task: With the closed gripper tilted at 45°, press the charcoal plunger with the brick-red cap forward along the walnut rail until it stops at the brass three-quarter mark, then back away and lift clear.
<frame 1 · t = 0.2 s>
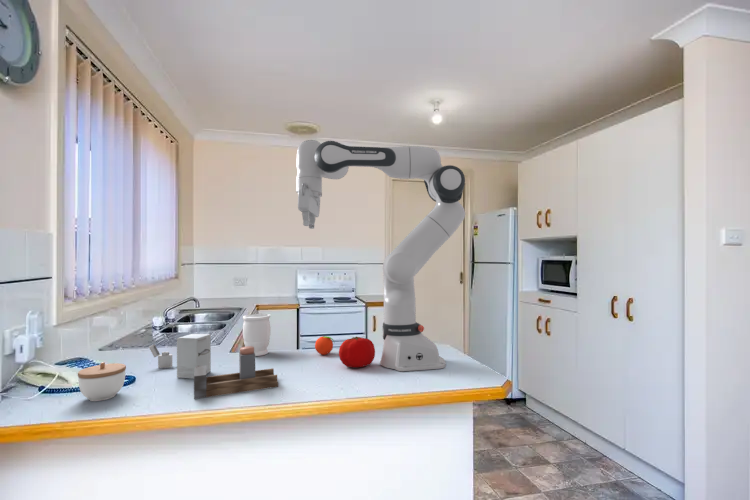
hand: (309, 227, 133), 48 cm above the table, tool pointing down, fingers open, 8 cm apart
clementine: (325, 355, 148), on the table
tomato: (356, 366, 131), on the table
jar: (257, 354, 150), on the table
lidded jar: (102, 397, 105), on the table
lighter: (160, 368, 133), on the table
plunger: (247, 363, 113), point 6 cm above the table, slide at 0.0 cm
supplement box: (194, 375, 124), on the table
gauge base: (247, 385, 113), on the table
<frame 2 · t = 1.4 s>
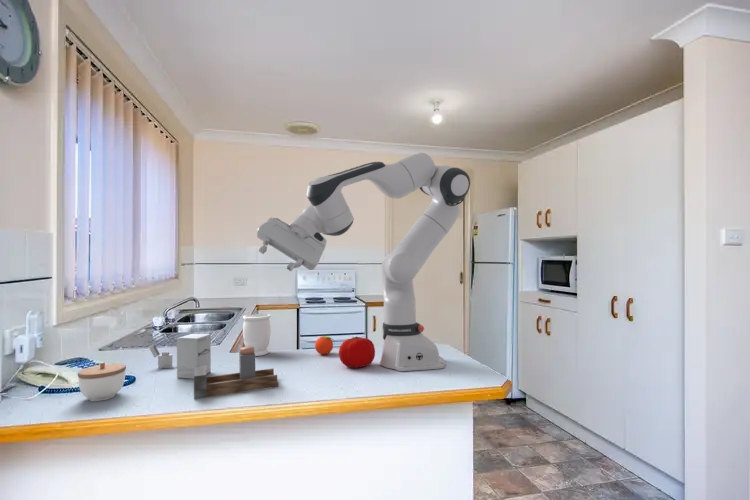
hand: (274, 260, 109), 37 cm above the table, tool tilted 55°, fingers open, 8 cm apart
nothing on the table moved.
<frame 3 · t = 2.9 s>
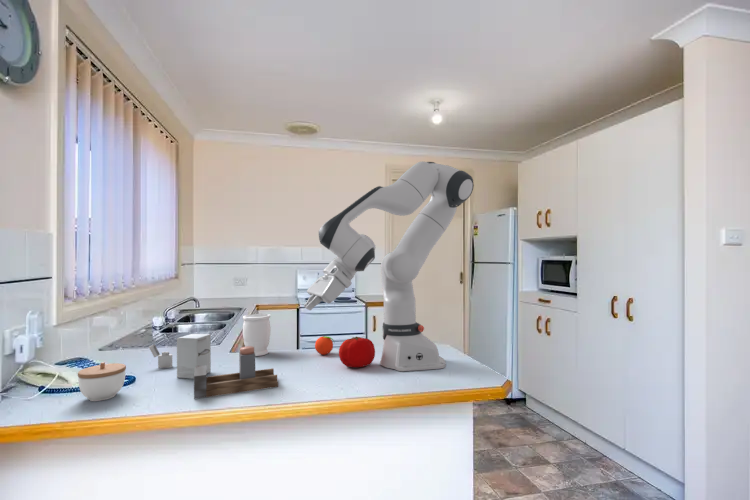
hand: (306, 308, 120), 21 cm above the table, tool tilted 45°, fingers closed
nothing on the table moved.
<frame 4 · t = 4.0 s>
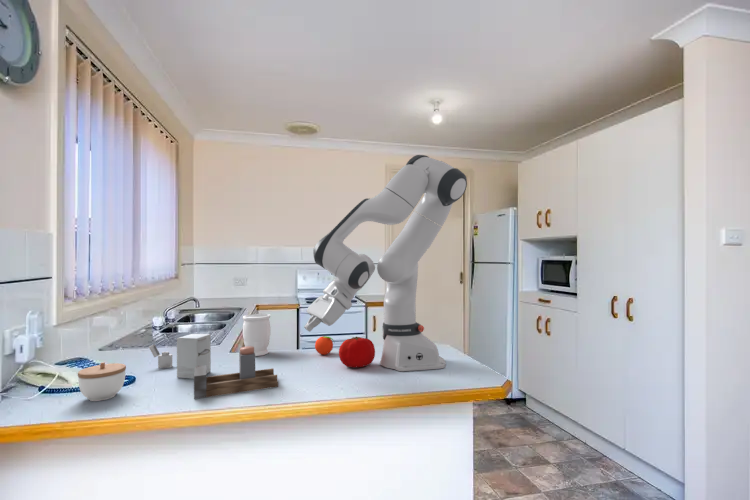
hand: (306, 329, 120), 15 cm above the table, tool tilted 45°, fingers closed
nothing on the table moved.
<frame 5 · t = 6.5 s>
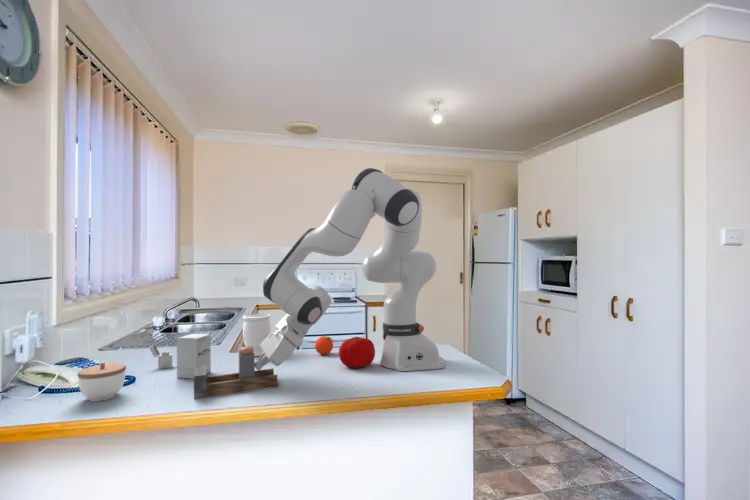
hand: (256, 367, 113), 5 cm above the table, tool tilted 45°, fingers closed, pressing on plunger
plunger: (246, 363, 113), point 6 cm above the table, slide at 0.2 cm, touching gripper
everything else where it was.
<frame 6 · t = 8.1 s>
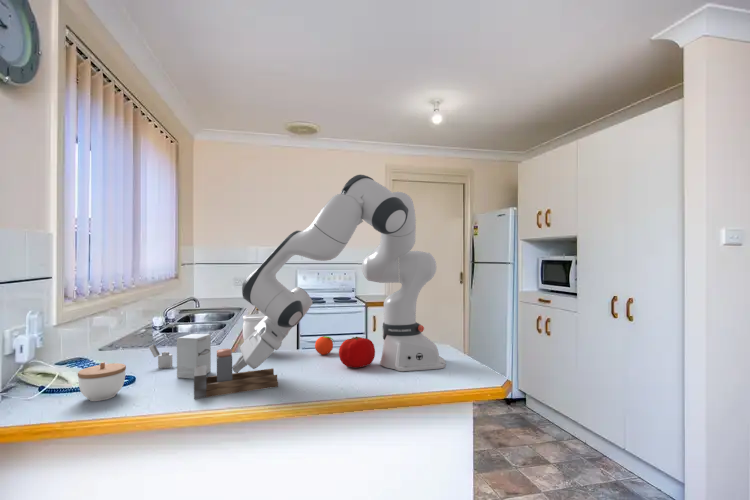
hand: (234, 370, 111), 5 cm above the table, tool tilted 45°, fingers closed, pressing on plunger
plunger: (224, 366, 110), point 6 cm above the table, slide at 6.2 cm, touching gripper
everything else where it was.
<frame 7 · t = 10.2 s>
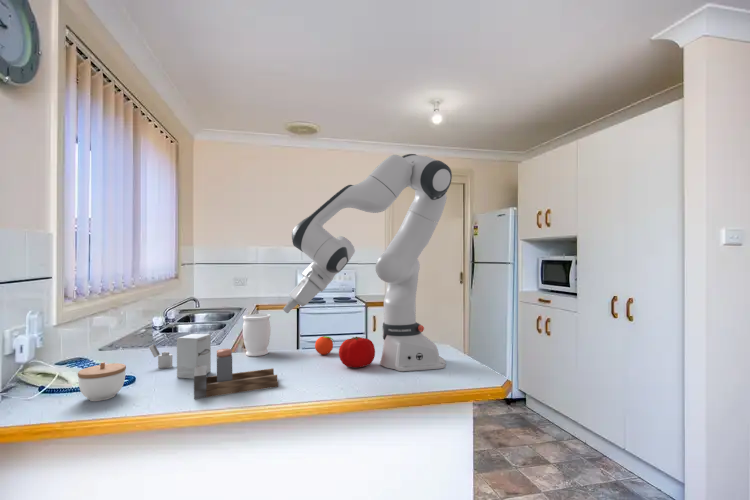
hand: (284, 311, 121), 20 cm above the table, tool tilted 45°, fingers closed
plunger: (224, 366, 110), point 6 cm above the table, slide at 6.2 cm
everything else where it was.
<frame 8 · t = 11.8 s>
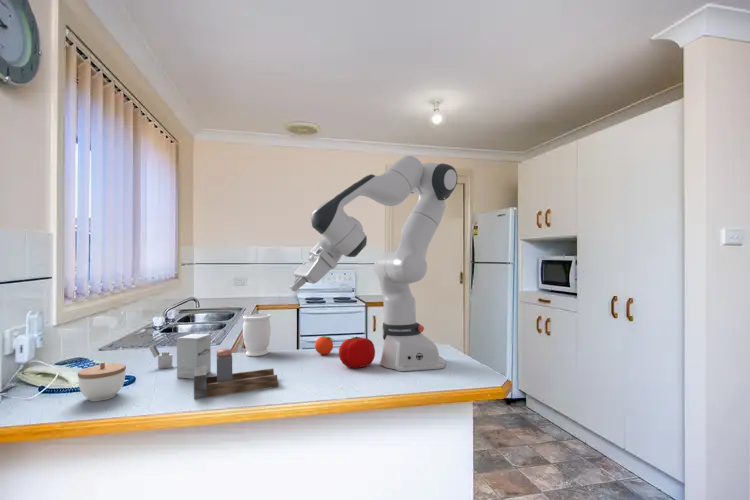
hand: (292, 290, 118), 27 cm above the table, tool tilted 45°, fingers closed
nothing on the table moved.
at the end: plunger slide at 6.2 cm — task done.
